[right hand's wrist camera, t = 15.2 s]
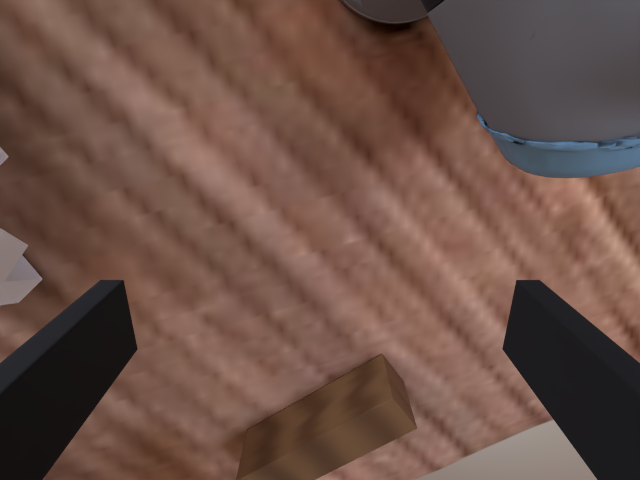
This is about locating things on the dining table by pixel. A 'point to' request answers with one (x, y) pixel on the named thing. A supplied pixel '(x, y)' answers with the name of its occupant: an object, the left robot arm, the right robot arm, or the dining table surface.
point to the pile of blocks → (14, 266)
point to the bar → (329, 426)
